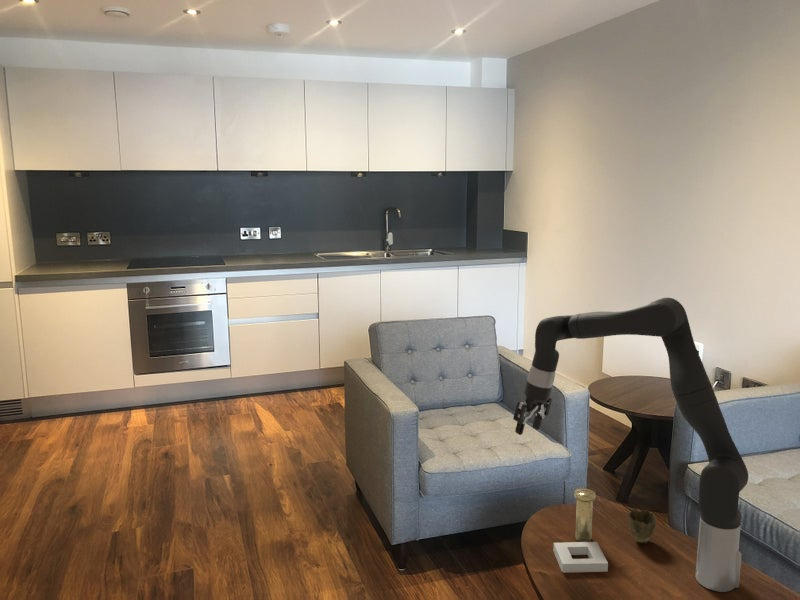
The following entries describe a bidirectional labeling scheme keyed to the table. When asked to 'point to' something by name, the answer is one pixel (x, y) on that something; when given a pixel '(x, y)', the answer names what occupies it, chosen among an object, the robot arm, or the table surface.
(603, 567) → the frame
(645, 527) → the cup
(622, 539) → the table surface
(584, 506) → the gold flanged cylinder
